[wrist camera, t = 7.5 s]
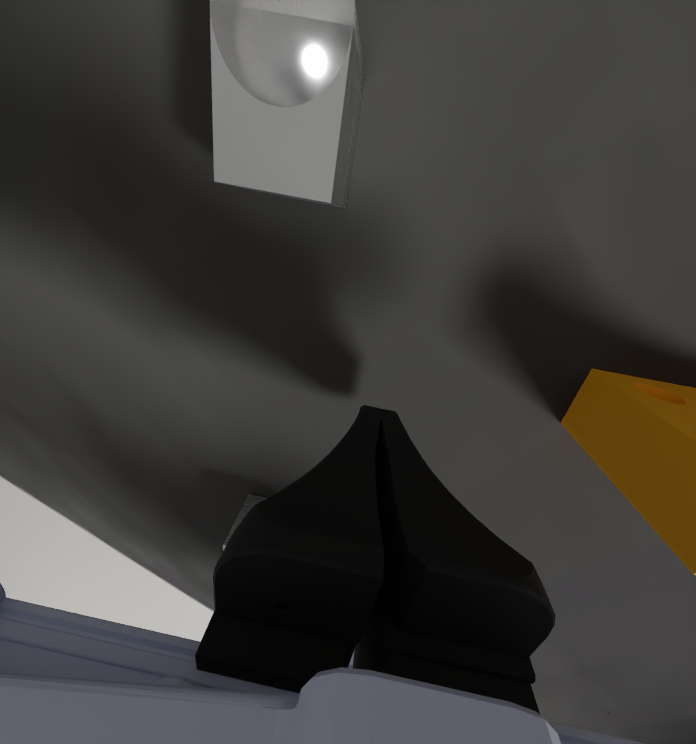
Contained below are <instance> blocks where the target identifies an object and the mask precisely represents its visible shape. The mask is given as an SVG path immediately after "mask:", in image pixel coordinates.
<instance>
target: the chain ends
mask: <svg viewBox="0 0 696 744" xmlns="http://www.w3.org/2000/svg"><path fill="white" fill-rule="evenodd" d="M210 34H211V75H212V116H213V156H214V182H218V183H222V184H227V185H231V186H235V187H239V188H243V189H247V190H251V191H255V192H260V193H265V194H270V195H276V196H281V197H286V198H292V199H297V200H302V201H308V202H313V203H318V204H324V205H329V206H334V207H340V208H345V207H346V200H347V193H348V186H349V179H350V173H351V166H352V159H353V152H354V145H355V138H356V131H357V124H358V117H359V110H360V103H361V96H362V90H363V81H364V63H363V55H362V48H361V41H360V33H359V26H358V19H357V12H356V5H355V0H210ZM265 499H267V497H262V496H257V495H253V494H249V495H248V497H247V499H246V501H245V503H244V505H243V507H242V509H241V510H240V512H239V514H238V516H237V518H236V520H235V522H234V524H233V526H232V528H231V530H230V532H229V534H228V536H227V538H226V540H225V542H224V544H223V550H224V548H225V546H226V544H227V542H228V541H229V539H230V537H231V536H232V534H233V533H234V531H235V530H236V528H237V527H238V525H239V524H240V523H241V521H242V520H243V518H244V517H245V516H246V515H247V513H248V512H249V511H250V509H251V508H252V507H253V506H254V505H255V504H257V503H259V502H261V501H263V500H265Z"/></svg>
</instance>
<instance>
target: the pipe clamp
mask: <svg viewBox="0 0 696 744" xmlns="http://www.w3.org/2000/svg"><path fill="white" fill-rule="evenodd" d="M561 424H562V425H563V426H564V428H565V429H566V430H567V431H568V432H569V433H570V434H571V436H572V437H573V438H574V439H575V440H576V441H577V442H578V443H579V445H580V446H581V447H582V448H583V449H584V450H585V451H586V453H587V454H588V455H589V456H590V457H591V458H592V459H593V461H594V462H595V463H596V464H597V465H598V466H599V467H600V469H601V470H602V471H603V472H604V473H605V474H606V475H607V477H608V478H609V479H610V480H611V481H612V482H613V483H614V485H615V486H616V487H617V488H618V489H619V490H620V491H621V493H622V494H623V495H624V496H625V497H626V498H627V499H628V501H629V502H630V503H631V504H632V505H633V506H634V507H635V508H636V510H637V511H638V512H639V513H640V514H641V515H642V516H643V518H644V519H645V520H646V521H647V522H648V523H649V524H650V526H651V527H652V528H653V529H654V530H655V531H656V532H657V534H658V535H659V536H660V537H661V538H662V539H663V540H664V542H665V543H666V544H667V545H668V546H669V547H670V548H671V550H672V551H673V552H674V553H675V554H676V555H677V556H678V558H679V559H680V560H681V561H682V562H683V563H684V564H685V566H686V567H687V568H688V569H689V570H690V571H691V572H692V574H693V575H696V388H693V387H688V386H682V385H677V384H672V383H666V382H661V381H656V380H650V379H645V378H640V377H634V376H629V375H624V374H618V373H613V372H608V371H602V370H597V369H591V371H590V372H589V374H588V376H587V378H586V379H585V381H584V383H583V385H582V386H581V388H580V390H579V391H578V393H577V395H576V397H575V398H574V400H573V402H572V404H571V405H570V407H569V409H568V411H567V412H566V414H565V416H564V418H563V419H562V421H561Z"/></svg>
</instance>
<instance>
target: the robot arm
mask: <svg viewBox="0 0 696 744" xmlns="http://www.w3.org/2000/svg"><path fill="white" fill-rule="evenodd" d="M213 584H214V604H215V611H214V613H213V616H212V618H211V620H210V623H209V625H208V627H207V629H206V631H205V634H204V636H203V638H202V640H201V642H198V641H194V640H190V639H185V638H181V637H177V636H172V635H168V634H163V633H159V632H155V631H150V630H146V629H142V628H137V627H133V626H128V625H124V624H120V623H115V622H111V621H106V620H102V619H98V618H93V617H89V616H84V615H80V614H76V613H71V612H67V611H63V610H58V609H54V608H49V607H45V606H40V605H36V604H32V603H27V602H23V601H18V600H14V599H10V598H6V595H5V591H4V589H3V587H2V585H1V584H0V744H646V743H641V742H637V741H632V740H628V739H624V738H619V737H615V736H610V735H606V734H602V733H597V732H593V731H589V730H584V729H580V728H575V727H571V726H567V725H562V724H558V723H554V722H549V721H546V720H545V719H544V718H543V717H542V716H540V713H539V710H538V706H537V703H536V700H535V697H534V694H533V691H532V687H531V684H530V683H532V684H533V683H534V682H535V673H534V670H533V667H532V664H531V661H530V658H529V656H530V655H531V654H532V653H533V652H534V651H535V650H536V649H537V648H538V646H539V645H540V644H541V643H542V642H543V641H544V640H545V639H546V638H547V637H548V635H549V633H550V632H551V630H552V628H553V627H554V624H555V613H554V611H553V609H552V606H551V604H550V601H549V599H548V596H547V594H546V591H545V589H544V587H543V584H542V582H541V580H540V578H539V576H538V574H537V572H536V570H535V568H534V566H533V564H532V563H531V562H530V561H528V560H527V559H526V558H525V557H523V556H522V555H521V554H519V553H518V552H517V551H515V550H514V549H513V548H511V547H510V546H509V545H507V544H506V543H505V542H503V541H502V540H501V539H500V538H498V537H497V536H496V535H495V534H493V533H492V532H491V531H490V530H489V529H488V528H487V527H485V526H484V525H483V524H482V523H481V522H480V521H478V520H477V519H476V518H475V517H474V516H473V515H472V514H471V513H470V512H469V511H468V510H467V509H466V508H465V507H464V506H463V505H462V504H461V503H460V502H459V501H458V500H457V499H456V498H455V497H454V496H453V495H452V494H451V493H450V492H449V491H448V490H447V489H446V488H445V487H444V485H443V484H442V483H441V482H440V481H439V479H438V478H437V477H436V476H435V475H434V473H433V472H432V471H431V469H430V468H429V467H428V465H427V464H426V463H425V461H424V460H423V458H422V457H421V455H420V454H419V452H418V451H417V449H416V447H415V446H414V444H413V442H412V441H411V439H410V437H409V436H408V434H407V432H406V430H405V428H404V426H403V424H402V422H401V420H400V418H399V416H398V414H397V413H396V412H395V411H390V410H385V409H380V408H375V407H370V406H366V405H364V406H362V407H361V408H360V412H359V414H358V416H357V418H356V420H355V422H354V423H353V425H352V426H351V428H350V429H349V431H348V432H347V433H346V435H345V436H344V437H343V438H342V440H341V441H340V442H339V443H338V444H337V446H336V447H335V448H334V449H333V450H332V451H331V452H330V453H329V454H328V455H327V456H326V457H325V458H324V459H323V460H322V461H321V462H320V463H318V464H317V465H316V466H315V467H314V468H313V469H311V470H310V471H309V472H308V473H306V474H305V475H304V476H302V477H301V478H299V479H298V480H296V481H295V482H293V483H292V484H290V485H289V486H287V487H286V488H284V489H283V490H281V491H280V492H278V493H276V494H274V495H272V496H270V497H269V498H267V499H265V500H263V501H261V502H259V503H257V504H255V505H254V506H253V507H252V508H251V509H250V511H249V512H248V513H247V515H246V516H245V517H244V518H243V520H242V521H241V523H240V524H239V525H238V527H237V528H236V530H235V531H234V533H233V534H232V536H231V537H230V539H229V541H228V542H227V544H226V546H225V548H224V550H223V552H222V554H221V556H220V558H219V560H218V562H217V564H216V566H215V570H214V575H213Z"/></svg>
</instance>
